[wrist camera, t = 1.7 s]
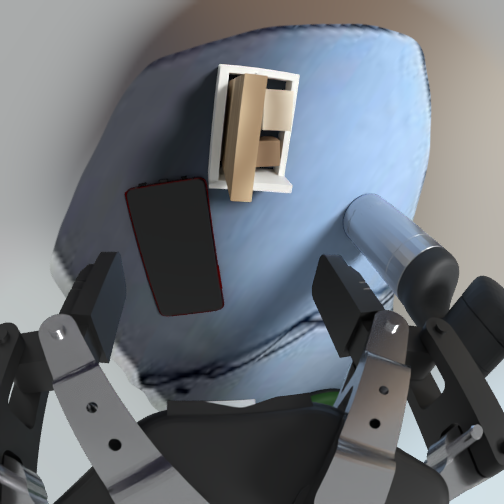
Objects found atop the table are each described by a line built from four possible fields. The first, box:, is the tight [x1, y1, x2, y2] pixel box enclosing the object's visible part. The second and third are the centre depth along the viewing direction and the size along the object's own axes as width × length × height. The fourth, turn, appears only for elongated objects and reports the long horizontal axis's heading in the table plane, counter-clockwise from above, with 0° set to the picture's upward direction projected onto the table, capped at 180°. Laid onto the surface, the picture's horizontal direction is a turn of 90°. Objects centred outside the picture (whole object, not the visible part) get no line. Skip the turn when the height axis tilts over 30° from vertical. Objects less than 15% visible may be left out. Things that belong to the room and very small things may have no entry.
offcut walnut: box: [256, 136, 280, 167], centre depth 36 cm, size 3×3×4 cm
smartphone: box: [125, 176, 224, 316], centre depth 45 cm, size 12×2×25 cm
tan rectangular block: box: [221, 73, 268, 202], centre depth 29 cm, size 2×11×16 cm, turn 173°
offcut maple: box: [261, 89, 294, 131], centre depth 31 cm, size 3×5×3 cm
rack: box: [208, 64, 300, 193], centre depth 33 cm, size 10×15×7 cm, turn 173°
